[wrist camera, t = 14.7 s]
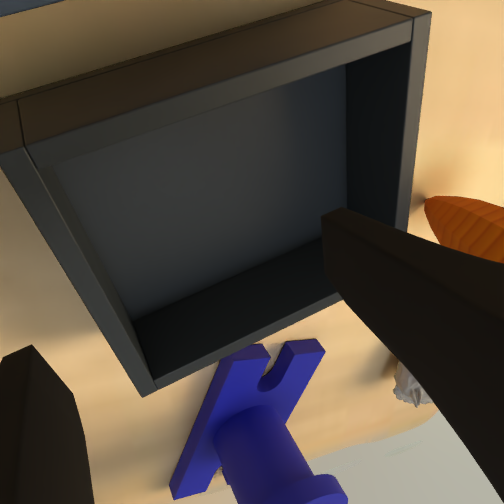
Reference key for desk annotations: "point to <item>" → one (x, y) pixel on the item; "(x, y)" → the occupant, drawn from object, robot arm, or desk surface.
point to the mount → (255, 431)
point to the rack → (22, 5)
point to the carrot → (467, 225)
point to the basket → (220, 175)
